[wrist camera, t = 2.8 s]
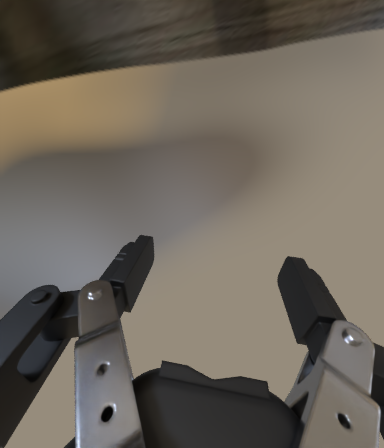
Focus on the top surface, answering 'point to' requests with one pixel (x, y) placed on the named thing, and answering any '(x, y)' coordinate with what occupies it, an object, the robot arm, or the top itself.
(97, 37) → the top surface
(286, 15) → the top surface
